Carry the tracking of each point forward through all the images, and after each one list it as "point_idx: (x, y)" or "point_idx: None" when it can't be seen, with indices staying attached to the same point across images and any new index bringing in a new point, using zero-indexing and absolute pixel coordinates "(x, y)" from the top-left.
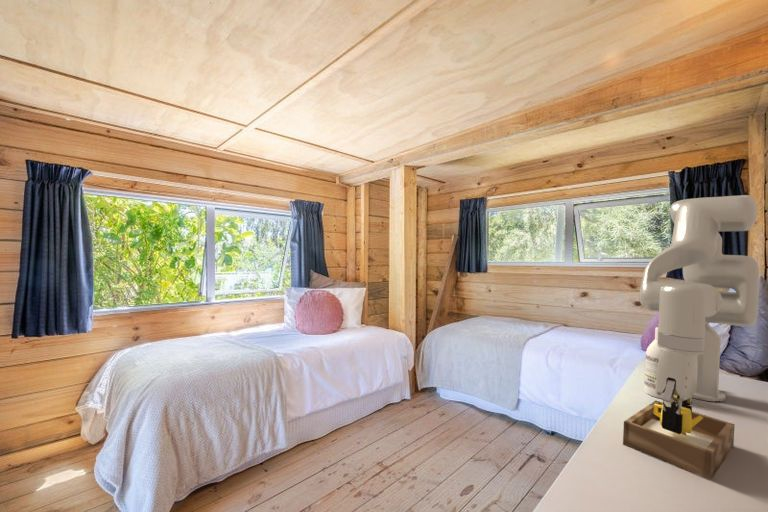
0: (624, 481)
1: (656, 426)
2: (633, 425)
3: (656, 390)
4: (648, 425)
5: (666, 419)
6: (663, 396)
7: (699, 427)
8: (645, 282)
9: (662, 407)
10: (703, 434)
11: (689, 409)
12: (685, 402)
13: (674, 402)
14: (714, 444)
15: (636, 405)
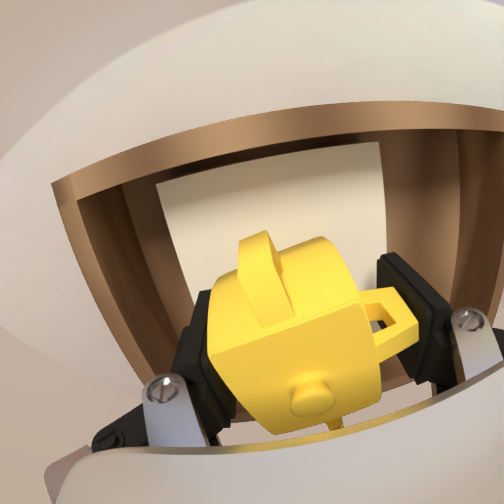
0: (6, 287)
1: (296, 200)
2: (67, 225)
3: (66, 480)
4: (263, 177)
5: (176, 352)
6: (47, 485)
7: (468, 257)
8: None
9: (219, 351)
10: (453, 262)
11: (367, 404)
12: (433, 379)
13: (434, 318)
14: (250, 416)
15: (489, 43)
